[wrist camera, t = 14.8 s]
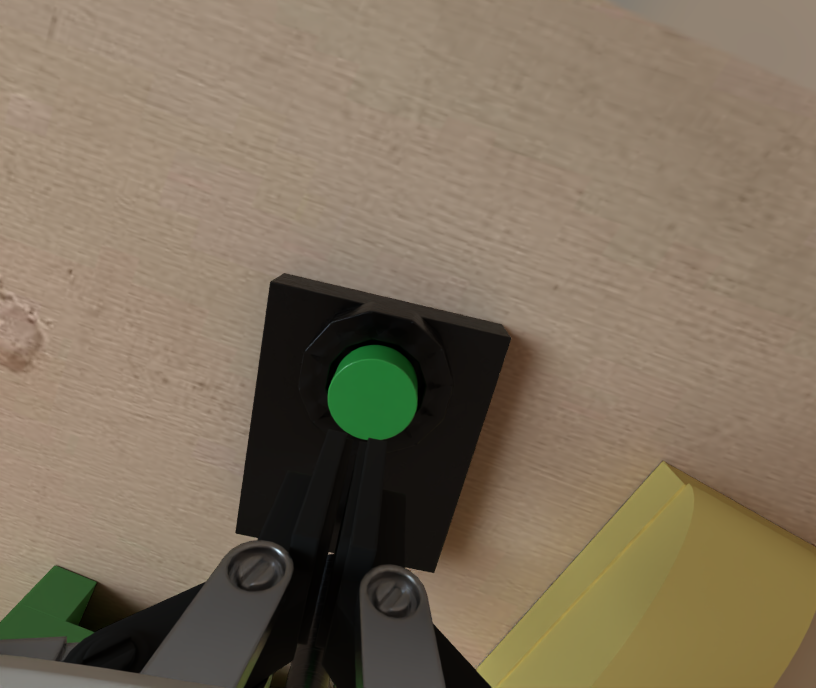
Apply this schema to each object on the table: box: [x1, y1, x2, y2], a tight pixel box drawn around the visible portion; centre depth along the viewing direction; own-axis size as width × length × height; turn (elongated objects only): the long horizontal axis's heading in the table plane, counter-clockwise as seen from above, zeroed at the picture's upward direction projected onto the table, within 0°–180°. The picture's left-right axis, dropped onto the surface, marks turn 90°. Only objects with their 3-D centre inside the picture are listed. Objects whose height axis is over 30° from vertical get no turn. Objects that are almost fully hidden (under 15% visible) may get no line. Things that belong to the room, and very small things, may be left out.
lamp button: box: [328, 345, 418, 440], centre depth 19 cm, size 4×4×2 cm
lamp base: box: [236, 273, 511, 573], centre depth 22 cm, size 14×11×4 cm
